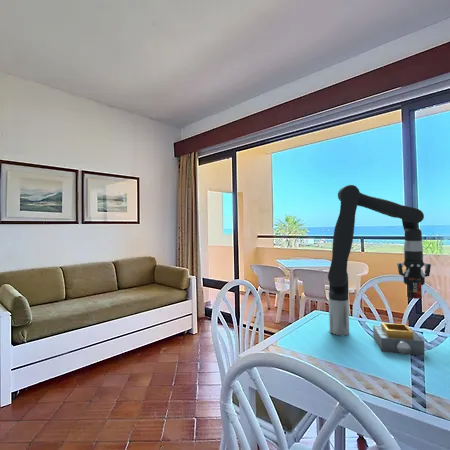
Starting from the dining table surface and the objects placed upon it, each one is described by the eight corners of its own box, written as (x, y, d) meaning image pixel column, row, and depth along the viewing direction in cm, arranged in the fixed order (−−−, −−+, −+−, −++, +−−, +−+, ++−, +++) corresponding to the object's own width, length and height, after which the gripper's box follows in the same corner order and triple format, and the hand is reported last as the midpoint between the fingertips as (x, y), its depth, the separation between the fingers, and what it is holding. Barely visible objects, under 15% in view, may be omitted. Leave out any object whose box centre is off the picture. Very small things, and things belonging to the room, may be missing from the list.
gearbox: (382, 353, 121) (382, 333, 121) (373, 337, 139) (373, 320, 139) (426, 357, 117) (425, 336, 117) (411, 340, 134) (410, 322, 134)
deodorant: (417, 295, 142) (416, 265, 142) (424, 298, 136) (423, 267, 136) (404, 295, 142) (404, 265, 142) (411, 298, 136) (410, 267, 136)
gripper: (399, 250, 137) (399, 285, 137) (433, 250, 133) (434, 286, 133) (394, 249, 145) (395, 282, 145) (427, 249, 141) (428, 283, 141)
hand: (414, 284), depth 139 cm, fingers closed on deodorant, 6 cm apart
